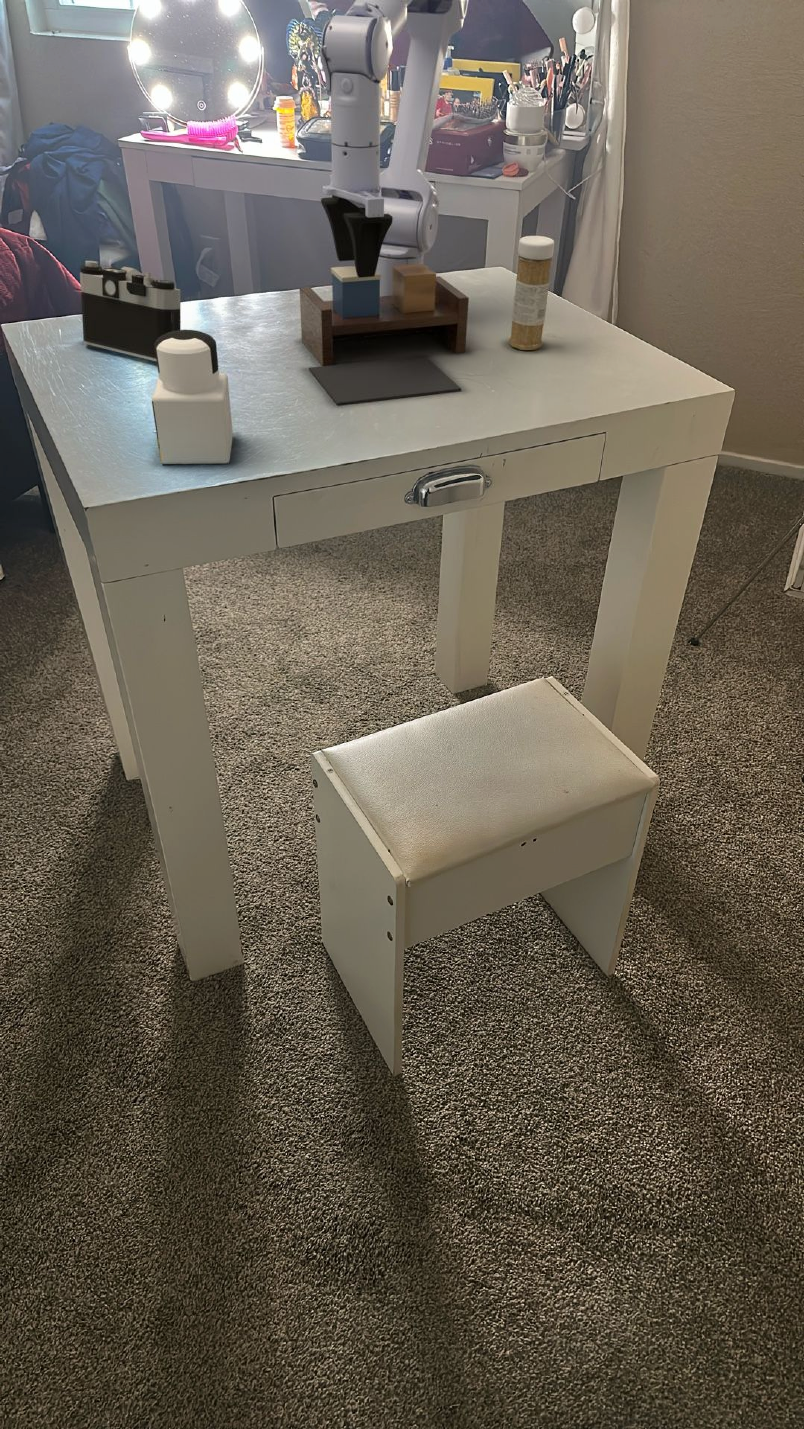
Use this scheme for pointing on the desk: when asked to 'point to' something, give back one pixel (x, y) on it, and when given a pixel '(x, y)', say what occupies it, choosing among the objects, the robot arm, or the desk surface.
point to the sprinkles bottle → (531, 291)
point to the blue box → (355, 293)
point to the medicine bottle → (191, 400)
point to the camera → (127, 309)
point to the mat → (383, 380)
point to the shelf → (383, 321)
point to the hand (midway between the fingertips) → (355, 268)
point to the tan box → (413, 288)
